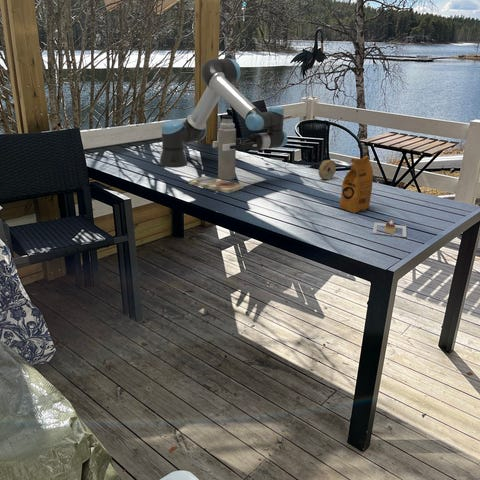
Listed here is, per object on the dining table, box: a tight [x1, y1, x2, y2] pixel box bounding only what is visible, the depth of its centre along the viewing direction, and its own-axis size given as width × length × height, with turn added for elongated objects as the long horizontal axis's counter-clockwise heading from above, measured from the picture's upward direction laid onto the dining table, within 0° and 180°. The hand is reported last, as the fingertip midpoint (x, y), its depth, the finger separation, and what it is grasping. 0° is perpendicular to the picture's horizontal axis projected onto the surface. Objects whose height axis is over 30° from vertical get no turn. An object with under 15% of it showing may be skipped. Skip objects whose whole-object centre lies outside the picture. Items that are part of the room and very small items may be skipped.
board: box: [188, 175, 245, 194], centre depth 236 cm, size 24×12×2 cm, turn 54°
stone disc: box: [318, 159, 337, 180], centre depth 252 cm, size 10×4×10 cm, turn 128°
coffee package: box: [339, 155, 374, 214], centre depth 206 cm, size 10×12×22 cm
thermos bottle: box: [217, 115, 237, 180], centre depth 226 cm, size 8×8×28 cm
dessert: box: [372, 220, 408, 238], centre depth 185 cm, size 12×12×5 cm
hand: (218, 146), depth 223 cm, fingers closed on thermos bottle, 8 cm apart
